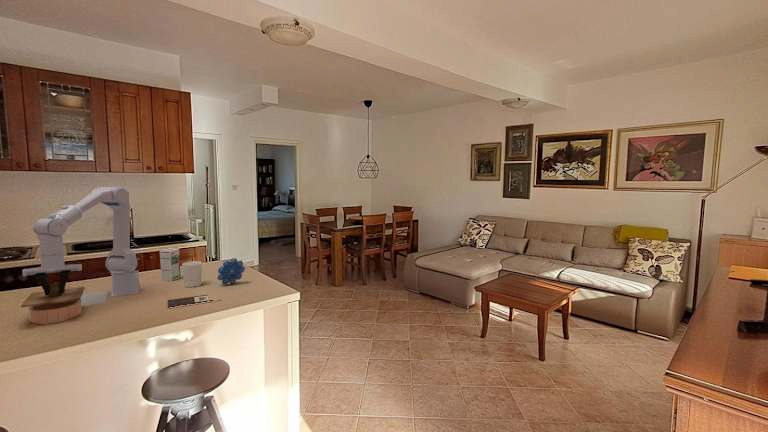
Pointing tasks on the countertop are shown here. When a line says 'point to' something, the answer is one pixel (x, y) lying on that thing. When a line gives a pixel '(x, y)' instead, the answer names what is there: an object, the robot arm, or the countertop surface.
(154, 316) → the countertop surface
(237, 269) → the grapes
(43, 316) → the bowl
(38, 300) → the lid
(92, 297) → the mat
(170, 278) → the syrup box
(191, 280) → the white cup
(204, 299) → the chocolate bar
